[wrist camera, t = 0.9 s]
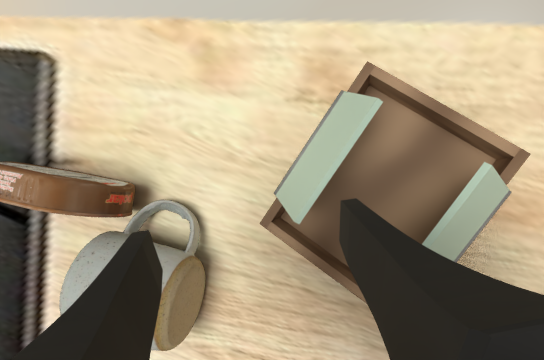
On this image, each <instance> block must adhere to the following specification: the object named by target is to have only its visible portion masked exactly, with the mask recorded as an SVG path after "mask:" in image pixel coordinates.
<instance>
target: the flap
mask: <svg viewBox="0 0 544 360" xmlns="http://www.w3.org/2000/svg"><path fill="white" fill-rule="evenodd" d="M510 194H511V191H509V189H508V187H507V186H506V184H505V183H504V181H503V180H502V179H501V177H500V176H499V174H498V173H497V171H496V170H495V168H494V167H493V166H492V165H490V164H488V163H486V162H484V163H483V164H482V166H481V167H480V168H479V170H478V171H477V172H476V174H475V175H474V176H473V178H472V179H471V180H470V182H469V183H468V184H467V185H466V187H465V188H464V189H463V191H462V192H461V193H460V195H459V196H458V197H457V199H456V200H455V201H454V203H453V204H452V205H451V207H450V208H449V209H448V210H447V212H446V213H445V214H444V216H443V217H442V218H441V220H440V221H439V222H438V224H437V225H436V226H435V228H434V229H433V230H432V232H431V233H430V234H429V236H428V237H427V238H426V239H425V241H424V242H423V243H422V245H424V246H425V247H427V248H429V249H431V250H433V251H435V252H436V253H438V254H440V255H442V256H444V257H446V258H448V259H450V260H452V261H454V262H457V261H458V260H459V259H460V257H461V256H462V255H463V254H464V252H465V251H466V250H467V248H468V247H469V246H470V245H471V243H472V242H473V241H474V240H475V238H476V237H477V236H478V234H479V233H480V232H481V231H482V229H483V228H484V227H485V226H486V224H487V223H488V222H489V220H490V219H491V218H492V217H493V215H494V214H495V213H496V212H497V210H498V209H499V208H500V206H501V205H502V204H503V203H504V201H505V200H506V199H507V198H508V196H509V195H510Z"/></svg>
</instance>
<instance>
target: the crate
mask: <svg viewBox="0 0 544 360" xmlns="http://www.w3.org/2000/svg"><path fill="white" fill-rule="evenodd" d="M347 92H351V93H356V94H361V95H366V96H371V97H376V98H379V99H380V100H381V101H382V102H383V103H382V104H381V106H380V107H379V109H378V110H377V112H376V113H375V115H374V116H373V118H372V119H371V120H370V122H369V123H368V125H367V126H366V128H365V129H364V131H363V132H362V134H361V135H360V137H359V138H358V139H357V141H356V142H355V144H354V145H353V147H352V148H351V150H350V151H349V153H348V154H347V156H346V157H345V158H344V160H343V161H342V163H341V164H340V166H339V167H338V169H337V170H336V172H335V173H334V175H333V176H332V177H331V179H330V180H329V182H328V183H327V185H326V186H325V188H324V189H323V191H322V192H321V194H320V195H319V196H318V198H317V199H316V201H315V202H314V204H313V205H312V207H311V208H310V210H309V211H308V212H307V214H306V215H305V217H304V218H303V220H302V221H301V223H300V224H298V223H296V222H294V221H293V220H292V218H291V217H290V215H289V214H288V213H287V211H286V210H285V208H284V207H283V205H282V204H281V202H280V201H279V200H278V198H276V200H275V201H274V203H273V204H272V206H271V207H270V209H269V210H268V212H267V213H266V215H265V216H264V218H263V219H262V221H261V222H260V224H261V225H262V226H263V227H265V228H266V229H267V230H269V231H270V232H271V233H273V234H274V235H275V236H277V237H278V238H279V239H281V240H282V241H283V242H285V243H286V244H287V245H289V246H290V247H291V248H293V249H294V250H295V251H297V252H298V253H300V254H301V255H302V256H304V257H305V258H306V259H308V260H309V261H310V262H312V263H313V264H314V265H316V266H317V267H318V268H320V269H321V270H322V271H324V272H325V273H326V274H328V275H329V276H330V277H332V278H333V279H334V280H336V281H337V282H339V283H340V284H341V285H343V286H344V287H345V288H347V289H348V290H349V291H351V292H352V293H353V294H355V295H356V296H357V297H359V298H360V299H361V300H363V301H364V302H365V303H367V302H366V300H365V298H364V296H363V294H362V292H361V290H360V288H359V287H358V285H357V283H356V281H355V279H354V277H353V275H352V273H351V271H350V269H349V266H348V264H347V262H346V259H345V256H344V254H343V251H342V248H341V245H340V242H339V231H340V204H341V200H348V199H354V198H357V199H358V200H359V201H361V202H362V203H363V204H365V205H366V206H367V207H368V208H370V209H371V210H372V211H374V212H375V213H376V214H378V215H379V216H380V217H382V218H383V219H384V220H386V221H387V222H389V223H390V224H391V225H393V226H394V227H396V228H397V229H398V230H400V231H401V232H403V233H404V234H406V235H408V236H409V237H411V238H412V239H414V240H416V241H417V242H419V243H420V244H422V243H423V242H424V241H425V239H426V238H427V237H428V236H429V234H430V233H431V232H432V230H433V229H434V228H435V226H436V225H437V224H438V222H439V221H440V220H441V218H442V217H443V216H444V214H445V213H446V212H447V210H448V209H449V208H450V207H451V205H452V204H453V203H454V201H455V200H456V199H457V197H458V196H459V195H460V193H461V192H462V191H463V189H464V188H465V187H466V185H467V184H468V183H469V182H470V180H471V179H472V178H473V176H474V175H475V174H476V172H477V171H478V170H479V168H480V167H481V166H482V164H483V163H484V162H486V163H488V164H490V165H492V166H493V167H494V168H495V170H496V171H497V173H498V174H499V176H500V177H501V179H502V180H503V181H504V183H505V184H506V185H507V184H508V183H509V181H510V180H511V179H512V177H513V176H514V175H515V174H516V172H517V171H518V170H519V168H520V167H521V166H522V165H523V163H524V162H525V161H526V159H527V158H528V157H529V156H530V153H528V152H526V151H524V150H523V149H521V148H519V147H517V146H516V145H514V144H512V143H510V142H509V141H507V140H505V139H503V138H502V137H500V136H498V135H496V134H494V133H493V132H491V131H489V130H487V129H486V128H484V127H482V126H480V125H479V124H477V123H475V122H473V121H472V120H470V119H468V118H466V117H465V116H463V115H461V114H459V113H457V112H456V111H454V110H452V109H450V108H449V107H447V106H445V105H443V104H442V103H440V102H438V101H436V100H435V99H433V98H431V97H429V96H428V95H426V94H424V93H422V92H420V91H419V90H417V89H415V88H413V87H412V86H410V85H408V84H406V83H405V82H403V81H401V80H399V79H398V78H396V77H394V76H392V75H391V74H389V73H387V72H385V71H383V70H382V69H380V68H378V67H376V66H375V65H373V64H371V63H369V62H368V61H367V63H366V64H365V66H364V67H363V69H362V70H361V72H360V73H359V75H358V76H357V78H356V79H355V81H354V82H353V84H352V85H351V87H350V88H349V90H348V91H347Z"/></svg>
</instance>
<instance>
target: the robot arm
mask: <svg viewBox="0 0 544 360" xmlns="http://www.w3.org/2000/svg"><path fill="white" fill-rule="evenodd" d="M339 242H340V245H341V248H342V251H343V254H344V256H345V259H346V262H347V264H348V266H349V269H350V271H351V273H352V275H353V277H354V279H355V281H356V283H357V285H358V287H359V288H360V290H361V292H362V294H363V296H364V298H365V300H366V302H367V304H368V306H369V308H370V310H371V312H372V314H373V316H374V319H375V321H376V323H377V325H378V328H379V331H380V333H381V336H382V338H383V341H384V343H385V346H386V349H387V351H388V354H389V357H390V360H544V295H542V294H538V293H535V292H532V291H529V290H525V289H522V288H519V287H516V286H513V285H510V284H507V283H505V282H502V281H499V280H496V279H494V278H491V277H488V276H486V275H483V274H481V273H479V272H476V271H474V270H472V269H469V268H467V267H465V266H463V265H460V264H458V263H456V262H454V261H452V260H450V259H448V258H446V257H444V256H442V255H440V254H438V253H436V252H435V251H433V250H431V249H429V248H427V247H425V246H424V245H422V244H420V243H419V242H417V241H416V240H414V239H412V238H411V237H409V236H408V235H406V234H404V233H403V232H401V231H400V230H398V229H397V228H396V227H394V226H393V225H391V224H390V223H389V222H387V221H386V220H384V219H383V218H382V217H380V216H379V215H378V214H376V213H375V212H374V211H372V210H371V209H370V208H368V207H367V206H366V205H365V204H363V203H362V202H361V201H359V200H358V199H357V198H354V199H348V200H341V204H340V231H339ZM162 277H163V269H162V266H161V263H160V260H159V258H158V255H157V252H156V249H155V246H154V243H153V241H152V238H151V235H150V232H149V230H146V231H140V232H133V233H131V234H130V236H129V237H128V238H127V239H126V241H125V242H124V243H123V244H122V246H121V247H120V248H119V250H118V251H117V252H116V254H115V255H114V256H113V257H112V259H111V260H110V261H109V263H108V264H107V265H106V266H105V267H104V269H103V270H102V271H101V272H100V274H99V275H98V276H97V277H96V279H95V280H94V281H93V282H92V283H91V284H90V285H89V286H88V288H87V289H86V290H85V291H84V292H83V293H82V294H81V296H80V297H79V298H78V299H77V300H76V301H75V302H74V303H73V304H72V305H71V306H70V307H69V308H68V309H67V310H66V311H65V312H64V313H63V314H62V315H61V316H60V317H59V318H58V319H57V320H56V321H55V322H54V323H53V324H52V325H51V326H49V327H48V328H47V329H46V330H45V331H44V332H43V333H41V334H40V335H39V336H38V337H37V338H36V339H35V340H33V341H32V342H31V343H30V344H29V345H28V346H26V347H25V348H24V349H23V350H22V351H21V352H19V353H18V354H17V355H16V356H14V357H13V358H12V359H11V360H149V358H150V352H151V347H152V342H153V337H154V332H155V327H156V321H157V316H158V311H159V306H160V300H161V294H162Z"/></svg>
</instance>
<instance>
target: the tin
mask: <svg viewBox="0 0 544 360" xmlns="http://www.w3.org/2000/svg"><path fill="white" fill-rule="evenodd" d="M134 194H135V186H134V185H133V184H132V183H129V182H125V181H120V180H115V179H110V178H105V177H101V176H96V175H91V174H86V173H81V172H76V171H70V170H64V169H58V168H52V167H46V166H39V165H33V164H26V163H18V162H0V202H3V203H7V204H11V205H16V206H20V207H23V208H28V209H32V210H37V211H43V212H50V213H57V214H65V215H74V216H85V217H125V216H130V215H132V206H133V200H134Z"/></svg>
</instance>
